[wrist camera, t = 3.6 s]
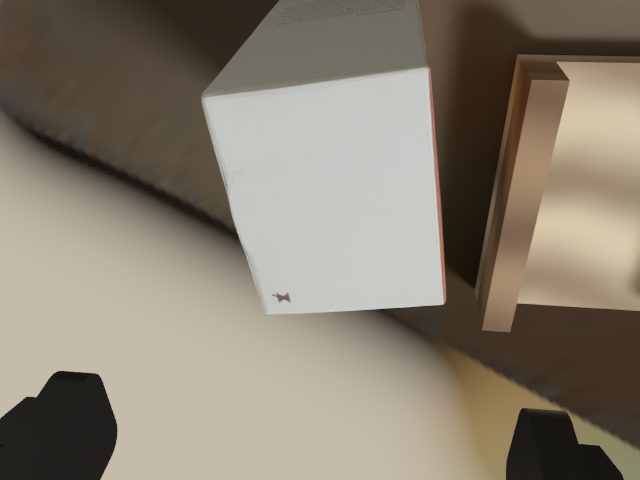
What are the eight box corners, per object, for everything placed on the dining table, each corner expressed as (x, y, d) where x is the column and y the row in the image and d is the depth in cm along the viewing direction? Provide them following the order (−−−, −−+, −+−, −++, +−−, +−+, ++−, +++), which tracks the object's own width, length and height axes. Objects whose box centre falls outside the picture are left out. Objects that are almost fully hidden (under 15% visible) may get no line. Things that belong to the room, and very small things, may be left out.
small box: (431, 141, 29) (448, 311, 18) (310, 154, 30) (260, 321, 19) (418, -30, 24) (432, 62, 14) (277, -7, 26) (190, 95, 15)
